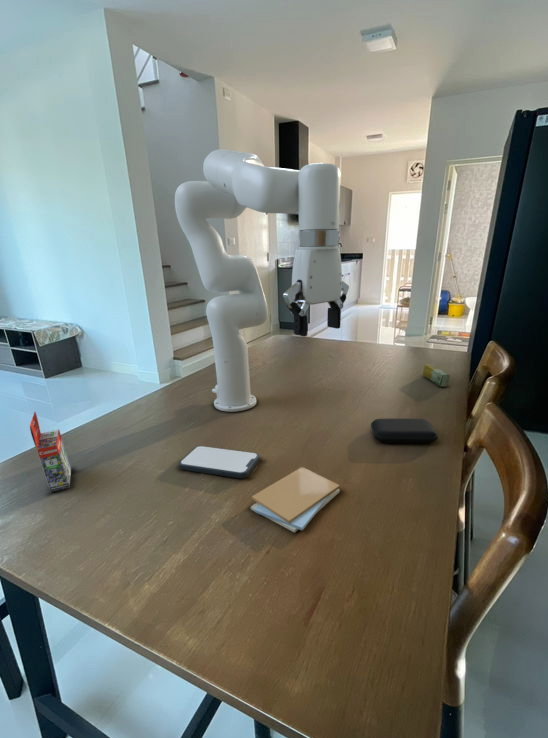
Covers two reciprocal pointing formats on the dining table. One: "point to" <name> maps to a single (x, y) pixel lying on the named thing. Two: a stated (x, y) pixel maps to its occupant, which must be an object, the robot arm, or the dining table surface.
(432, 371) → the medication box
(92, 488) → the dining table surface
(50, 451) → the ink box
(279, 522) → the envelope pile
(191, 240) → the robot arm
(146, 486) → the dining table surface
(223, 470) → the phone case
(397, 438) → the carrying case
